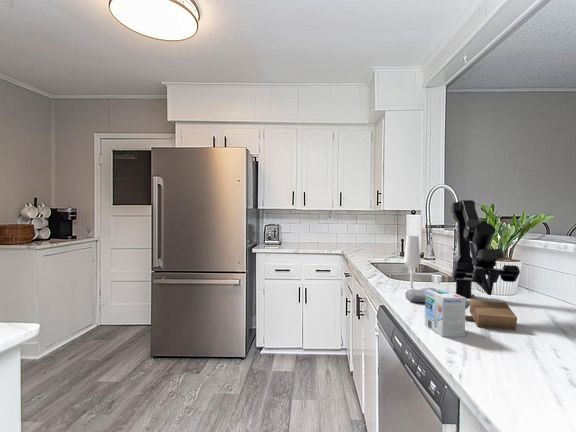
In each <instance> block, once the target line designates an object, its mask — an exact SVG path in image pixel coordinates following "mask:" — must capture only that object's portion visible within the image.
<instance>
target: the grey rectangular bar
mask: <svg viewBox="0 0 576 432" xmlns="http://www.w3.org/2000/svg"><path fill="white" fill-rule="evenodd" d="M466 321H467V322H468V321H469V322H475V321H474V319H473V317H472V315H466V314H465V322H466Z"/></svg>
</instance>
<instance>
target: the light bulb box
mask: <svg viewBox="0 0 576 432" xmlns="http://www.w3.org/2000/svg"><path fill="white" fill-rule="evenodd" d="M455 293H456V292H452V291H450V290H448V289H437V290H425V302H424V326H426V327H427V328H429V329H431V331H433V332H434V333H436V334H438V336H440V337H442V338H451V337H452V338H454V337H455V338H457V337H459V338H463V337H466V334H465V333H466V320H465V315H466V307H465V303H466V302H467V300H466V298H465V297H463V296H460V295H458V294H455Z"/></svg>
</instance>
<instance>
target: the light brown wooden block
mask: <svg viewBox="0 0 576 432" xmlns="http://www.w3.org/2000/svg"><path fill="white" fill-rule="evenodd" d="M469 313H470V316H472V317H473V319H474V321H473V322H474V323H475V325H476V327H477V328H487V329H497V330H508V331H517V324H518V317H517V316H516V314H515V313H514V311H513V310H512V309H511V307H509V305H508V304H507V302H503V301H488V300H473V299H470V302H469Z"/></svg>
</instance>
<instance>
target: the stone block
mask: <svg viewBox="0 0 576 432" xmlns="http://www.w3.org/2000/svg"><path fill="white" fill-rule="evenodd" d="M406 290H407V289H406ZM425 290H438V289H437V288H434V287H425V288H421V289H415V290H413V289H409V288H408V290H407V291H406V293H405V295H404V296H405V298H406V299H407V300H409V302H413V303H414V302H415V303H425Z"/></svg>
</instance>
